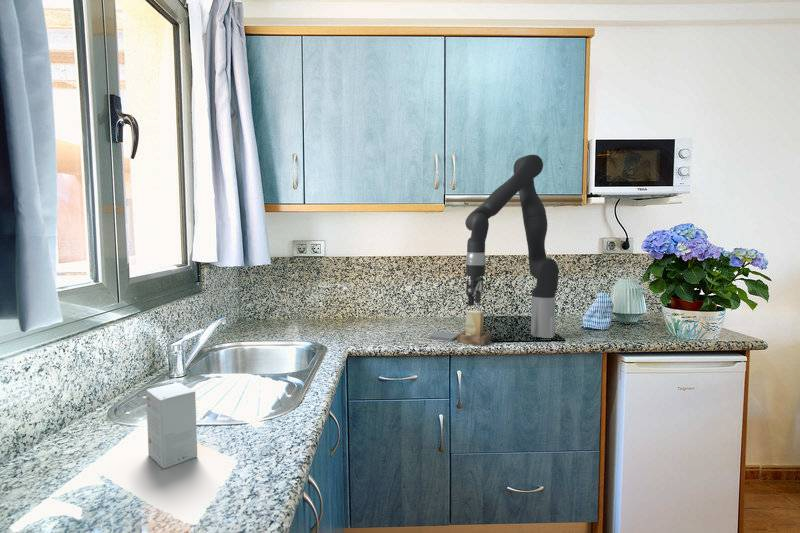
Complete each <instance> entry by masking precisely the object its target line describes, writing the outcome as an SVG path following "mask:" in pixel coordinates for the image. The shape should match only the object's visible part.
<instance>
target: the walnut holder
mask: <svg viewBox="0 0 800 533" xmlns="http://www.w3.org/2000/svg"><path fill="white" fill-rule="evenodd" d="M465 333H466V329H465V330H463V331H461V332H460V333H459V334H458V335H457V338H456V343H457V344H465V345H466V344H467V345H471V346H472V345H474V346H481V347H483V346H485V345H487V344H488V343H489V342H490V341H492V332H490V331H483V336H481V337H477V336H469V335H465Z"/></svg>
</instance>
